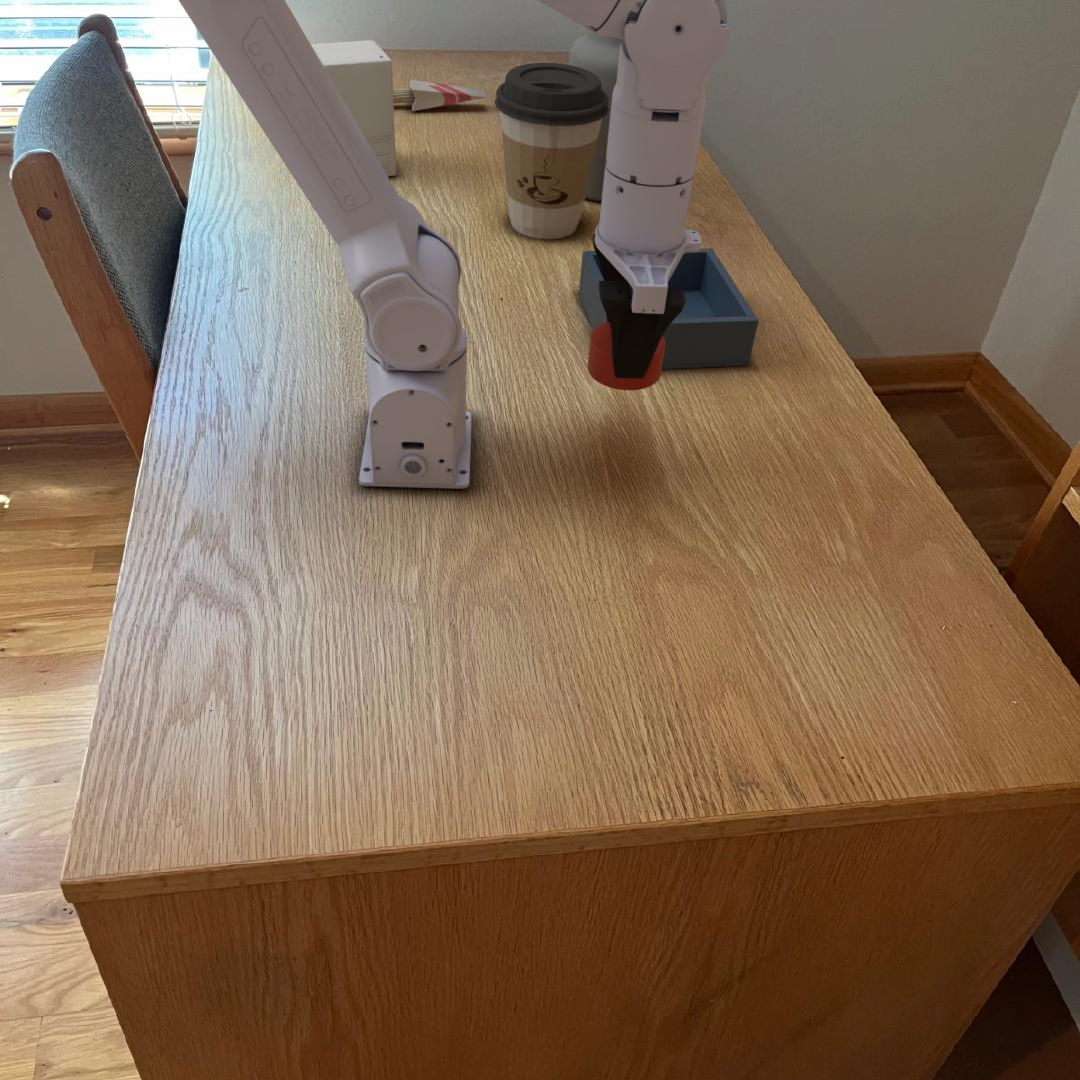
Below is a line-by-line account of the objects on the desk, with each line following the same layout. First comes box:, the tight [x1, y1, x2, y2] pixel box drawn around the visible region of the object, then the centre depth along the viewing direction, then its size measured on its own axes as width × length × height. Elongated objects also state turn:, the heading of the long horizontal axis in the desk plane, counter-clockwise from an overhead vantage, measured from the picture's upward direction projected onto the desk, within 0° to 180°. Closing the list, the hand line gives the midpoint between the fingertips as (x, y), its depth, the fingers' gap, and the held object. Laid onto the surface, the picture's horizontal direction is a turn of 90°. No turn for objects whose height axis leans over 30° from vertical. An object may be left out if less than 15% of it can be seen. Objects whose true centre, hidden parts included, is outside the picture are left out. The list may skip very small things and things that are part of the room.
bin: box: [578, 247, 760, 370], centre depth 93 cm, size 14×13×4 cm
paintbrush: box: [393, 79, 488, 112], centre depth 132 cm, size 4×3×20 cm
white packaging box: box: [310, 39, 397, 177], centre depth 113 cm, size 7×7×13 cm
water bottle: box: [568, 28, 625, 202], centre depth 108 cm, size 10×10×28 cm
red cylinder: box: [587, 322, 666, 391], centre depth 74 cm, size 5×5×3 cm
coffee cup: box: [493, 62, 609, 240], centre depth 104 cm, size 11×11×15 cm
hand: (625, 353), depth 74 cm, fingers closed on red cylinder, 5 cm apart
